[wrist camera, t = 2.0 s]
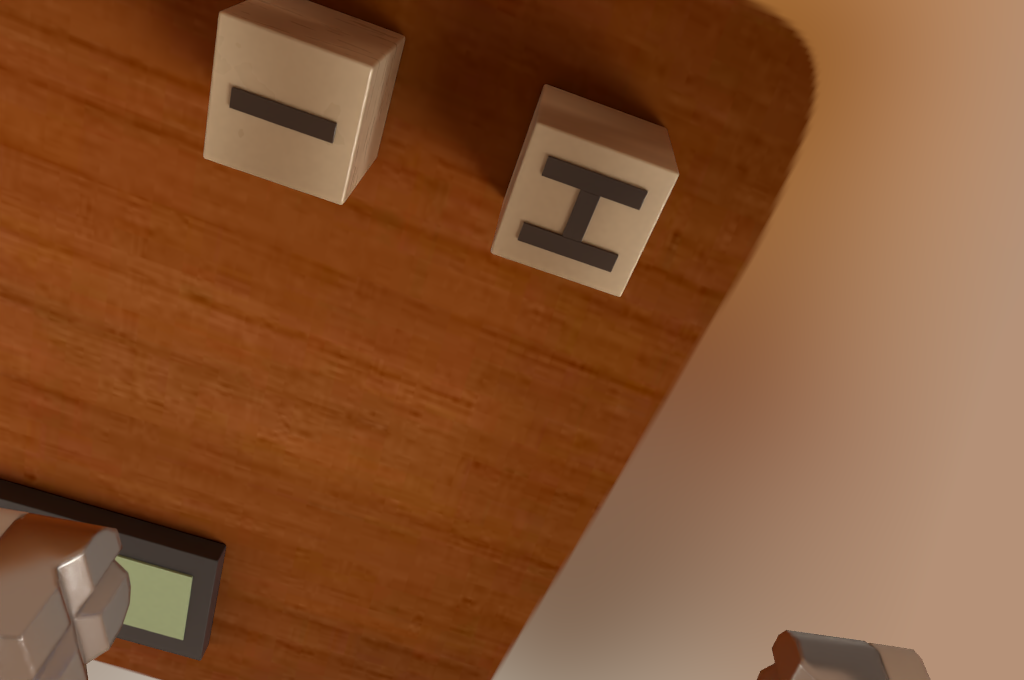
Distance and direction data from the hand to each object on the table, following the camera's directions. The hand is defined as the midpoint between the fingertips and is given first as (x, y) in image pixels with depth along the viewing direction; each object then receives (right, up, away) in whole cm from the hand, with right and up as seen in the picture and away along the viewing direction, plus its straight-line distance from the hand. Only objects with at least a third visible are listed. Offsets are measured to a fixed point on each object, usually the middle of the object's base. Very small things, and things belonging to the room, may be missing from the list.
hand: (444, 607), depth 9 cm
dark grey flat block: (-20, -7, +27) cm, 35 cm away
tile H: (+3, +9, +15) cm, 17 cm away
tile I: (-5, +11, +14) cm, 19 cm away
